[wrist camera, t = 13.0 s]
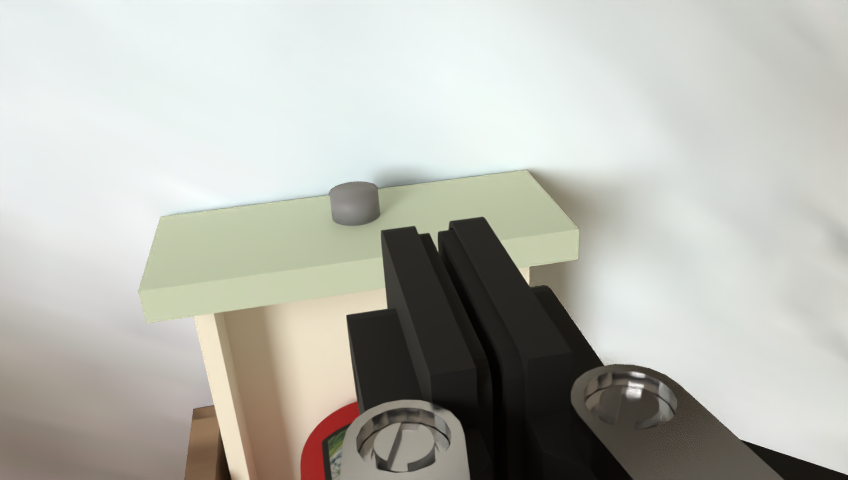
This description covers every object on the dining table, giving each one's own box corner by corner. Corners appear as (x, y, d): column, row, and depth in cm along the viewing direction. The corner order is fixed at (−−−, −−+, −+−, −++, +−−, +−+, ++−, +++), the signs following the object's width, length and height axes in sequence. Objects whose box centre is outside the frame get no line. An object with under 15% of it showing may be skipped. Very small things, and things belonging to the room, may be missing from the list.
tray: (154, 193, 29) (131, 263, 23) (526, 147, 31) (580, 202, 26) (237, 540, 37) (233, 649, 32) (525, 485, 39) (565, 579, 34)
